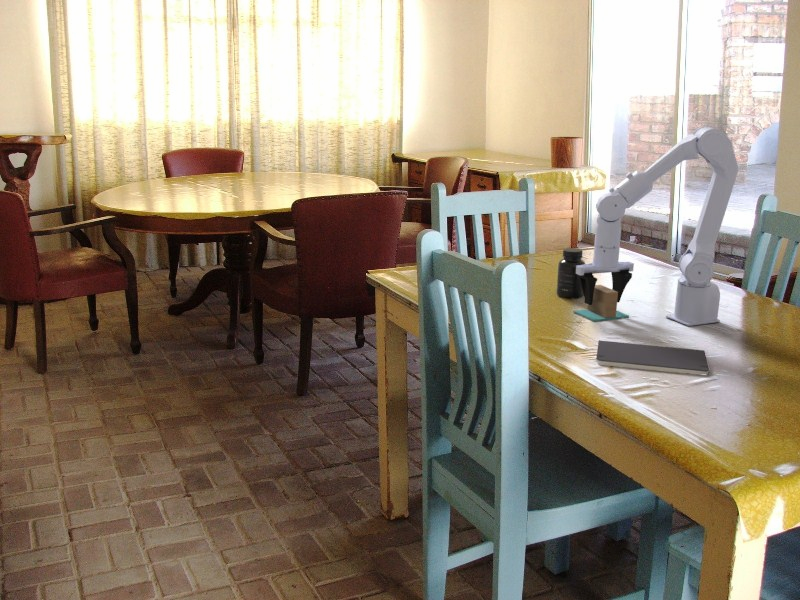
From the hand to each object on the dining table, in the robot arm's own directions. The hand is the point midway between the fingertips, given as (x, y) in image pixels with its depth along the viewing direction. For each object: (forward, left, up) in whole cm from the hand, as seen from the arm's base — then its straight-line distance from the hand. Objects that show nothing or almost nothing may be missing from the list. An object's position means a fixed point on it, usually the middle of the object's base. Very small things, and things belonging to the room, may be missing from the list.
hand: (602, 302), depth 203 cm
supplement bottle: (-3, -17, -3) cm, 18 cm away
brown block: (0, 0, -3) cm, 3 cm away
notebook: (+10, +30, -4) cm, 32 cm away
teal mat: (0, 0, -3) cm, 3 cm away
